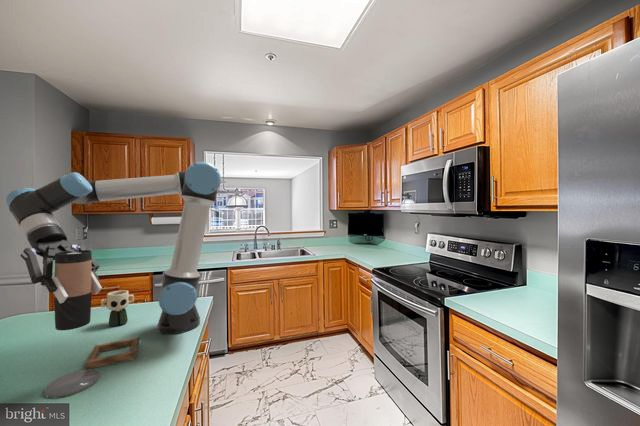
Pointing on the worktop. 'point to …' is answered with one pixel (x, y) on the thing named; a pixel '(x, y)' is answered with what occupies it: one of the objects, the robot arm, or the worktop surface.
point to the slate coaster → (72, 383)
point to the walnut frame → (98, 362)
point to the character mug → (117, 306)
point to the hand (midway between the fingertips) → (82, 295)
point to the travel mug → (73, 289)
